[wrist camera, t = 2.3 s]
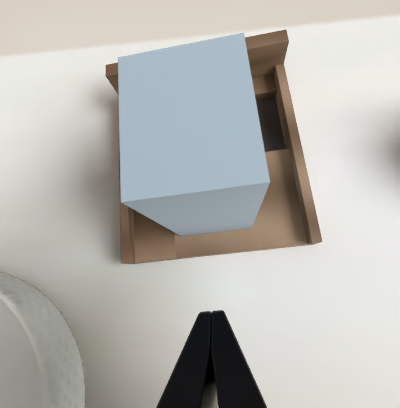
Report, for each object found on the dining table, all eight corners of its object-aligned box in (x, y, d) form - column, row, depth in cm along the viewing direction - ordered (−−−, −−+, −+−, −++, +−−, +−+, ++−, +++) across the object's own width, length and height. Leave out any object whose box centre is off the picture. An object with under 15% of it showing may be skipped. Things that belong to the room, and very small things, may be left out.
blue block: (251, 228, 18) (270, 182, 8) (181, 236, 18) (120, 202, 9) (239, 149, 19) (243, 32, 10) (175, 159, 20) (118, 57, 10)
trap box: (313, 244, 18) (334, 238, 14) (132, 263, 19) (106, 262, 16) (277, 71, 22) (286, 29, 18) (127, 98, 23) (105, 64, 19)
